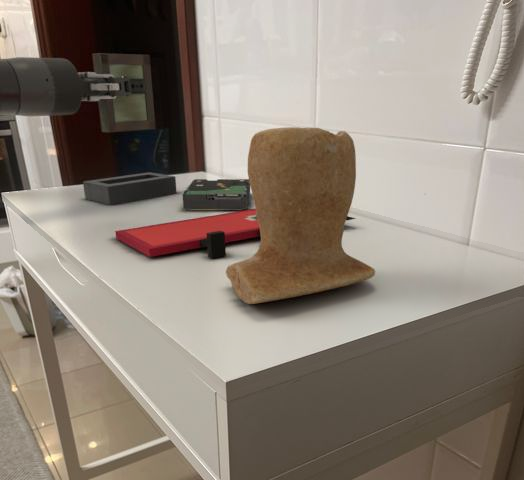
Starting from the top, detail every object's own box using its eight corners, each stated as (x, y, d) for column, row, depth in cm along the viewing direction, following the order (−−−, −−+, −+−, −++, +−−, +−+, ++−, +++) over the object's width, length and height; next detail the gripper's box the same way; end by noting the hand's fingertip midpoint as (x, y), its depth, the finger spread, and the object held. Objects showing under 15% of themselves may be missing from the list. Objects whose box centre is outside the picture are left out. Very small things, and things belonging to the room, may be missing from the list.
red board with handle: (365, 227, 76) (300, 210, 88) (366, 206, 75) (300, 192, 87) (163, 268, 62) (116, 241, 73) (160, 243, 61) (113, 220, 72)
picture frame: (109, 132, 88) (100, 53, 83) (101, 131, 89) (92, 53, 84) (155, 129, 94) (149, 54, 89) (147, 128, 95) (141, 55, 90)
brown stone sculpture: (319, 260, 64) (324, 119, 57) (390, 290, 55) (406, 126, 48) (198, 283, 57) (189, 125, 51) (257, 321, 48) (254, 135, 41)
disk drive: (193, 194, 102) (183, 211, 88) (192, 179, 100) (181, 192, 87) (250, 194, 102) (248, 210, 88) (250, 178, 100) (248, 192, 87)
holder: (85, 199, 98) (82, 181, 97) (151, 188, 107) (149, 172, 106) (110, 205, 93) (107, 186, 92) (176, 193, 102) (175, 176, 101)
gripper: (59, 55, 73) (164, 58, 85) (12, 58, 82) (113, 61, 93) (68, 117, 77) (168, 112, 88) (22, 114, 85) (119, 110, 96)
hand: (140, 86), depth 90 cm, fingers closed on picture frame, 2 cm apart
